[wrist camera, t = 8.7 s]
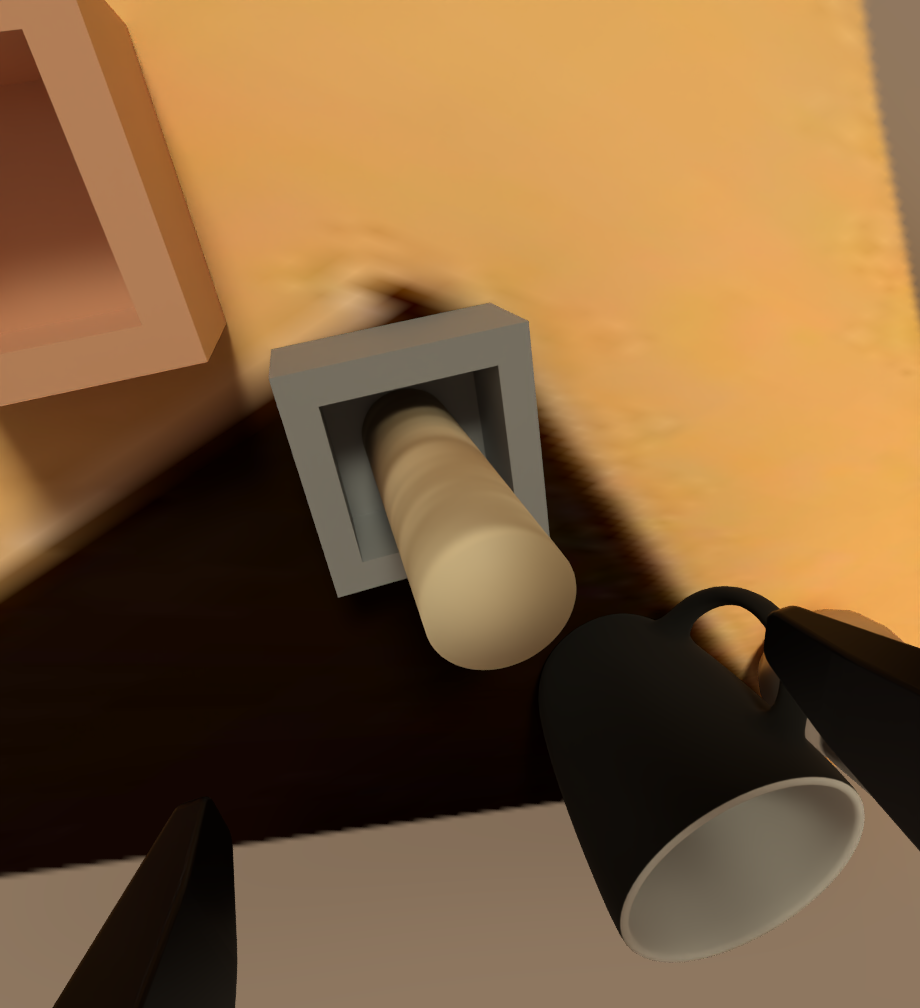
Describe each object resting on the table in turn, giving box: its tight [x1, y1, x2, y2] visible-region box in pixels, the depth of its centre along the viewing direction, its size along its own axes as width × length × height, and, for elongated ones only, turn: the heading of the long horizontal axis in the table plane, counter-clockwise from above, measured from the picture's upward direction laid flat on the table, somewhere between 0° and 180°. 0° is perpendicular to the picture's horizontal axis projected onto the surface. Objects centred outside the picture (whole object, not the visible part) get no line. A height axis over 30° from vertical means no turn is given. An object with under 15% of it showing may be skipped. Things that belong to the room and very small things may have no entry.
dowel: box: [362, 388, 576, 670], centre depth 16 cm, size 3×3×10 cm
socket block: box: [269, 303, 550, 598], centre depth 19 cm, size 7×7×4 cm
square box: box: [0, 0, 226, 406], centre depth 13 cm, size 7×7×5 cm
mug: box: [538, 586, 864, 963], centre depth 23 cm, size 12×9×10 cm
